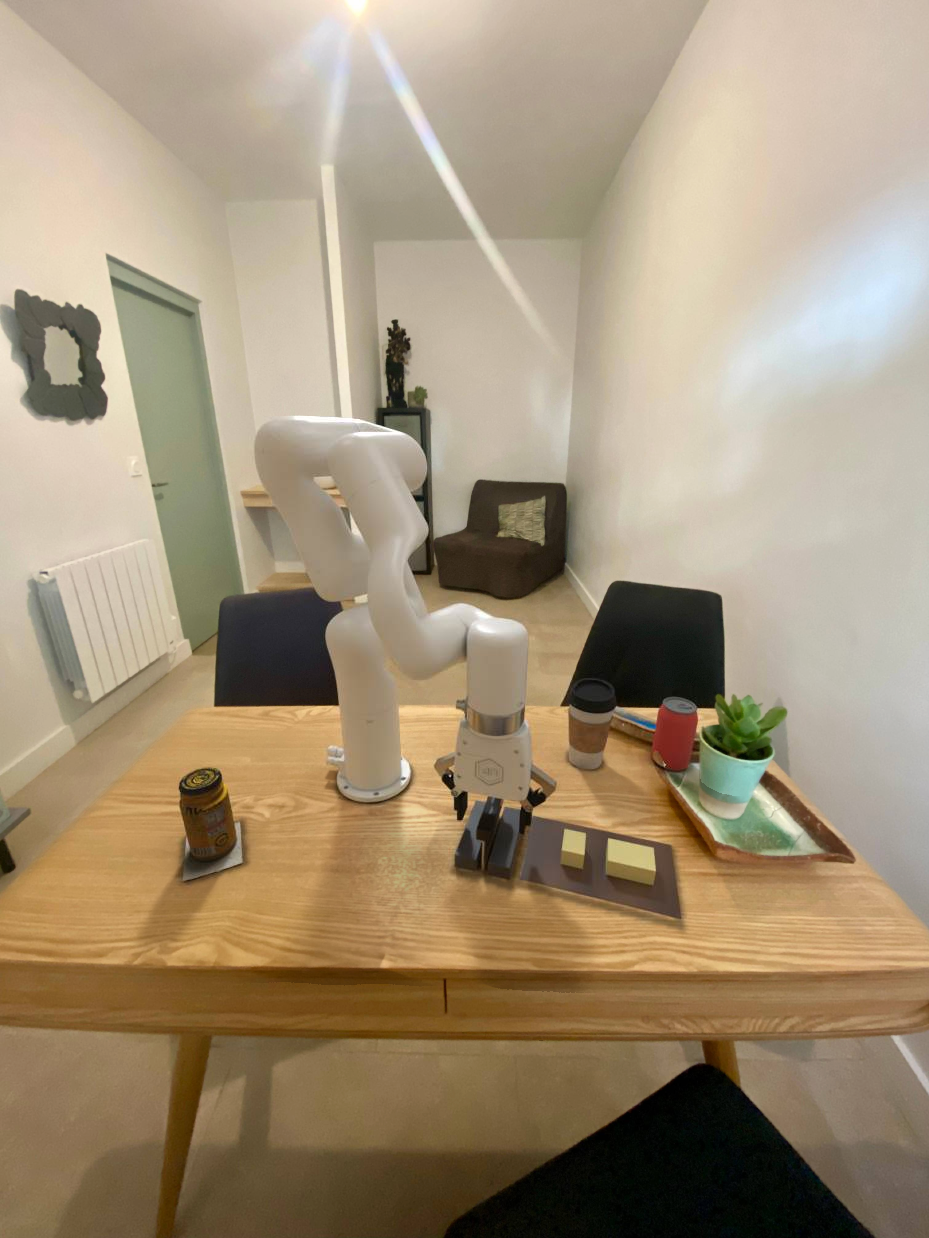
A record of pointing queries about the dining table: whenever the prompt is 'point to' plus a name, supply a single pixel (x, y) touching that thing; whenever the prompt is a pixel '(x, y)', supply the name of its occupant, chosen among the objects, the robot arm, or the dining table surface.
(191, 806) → the condiment
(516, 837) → the stand
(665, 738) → the beer can
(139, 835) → the dining table surface
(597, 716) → the coffee cup
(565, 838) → the butter slice
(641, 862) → the butter
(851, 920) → the dining table surface
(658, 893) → the board
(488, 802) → the cleaver
